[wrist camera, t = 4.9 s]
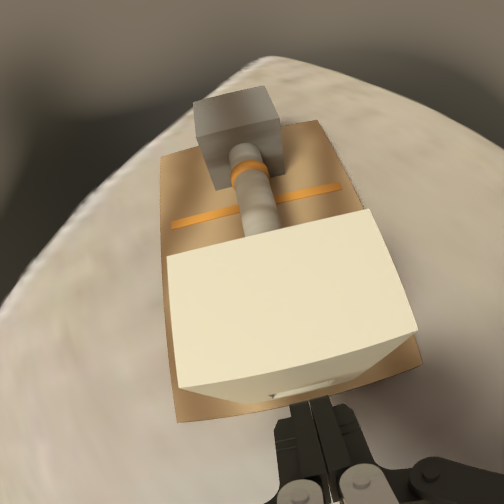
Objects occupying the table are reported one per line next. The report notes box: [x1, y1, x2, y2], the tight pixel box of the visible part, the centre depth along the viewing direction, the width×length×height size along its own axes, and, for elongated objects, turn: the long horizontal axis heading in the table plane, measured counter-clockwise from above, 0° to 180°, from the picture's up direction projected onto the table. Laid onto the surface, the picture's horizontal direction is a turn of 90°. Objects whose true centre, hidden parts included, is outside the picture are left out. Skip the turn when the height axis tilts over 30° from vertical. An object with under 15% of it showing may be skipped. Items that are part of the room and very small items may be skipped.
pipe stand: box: [160, 86, 423, 422], centre depth 21 cm, size 16×24×7 cm, turn 11°
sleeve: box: [167, 209, 418, 405], centre depth 13 cm, size 6×4×11 cm, turn 101°
